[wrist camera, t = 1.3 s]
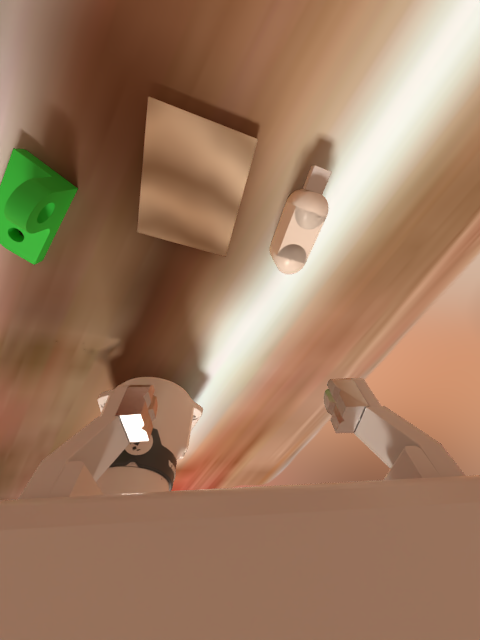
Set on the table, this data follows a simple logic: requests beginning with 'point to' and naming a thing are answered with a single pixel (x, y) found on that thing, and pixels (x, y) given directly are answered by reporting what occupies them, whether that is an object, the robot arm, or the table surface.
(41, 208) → the mechanical part
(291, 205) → the connector
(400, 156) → the table surface
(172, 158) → the birch board
